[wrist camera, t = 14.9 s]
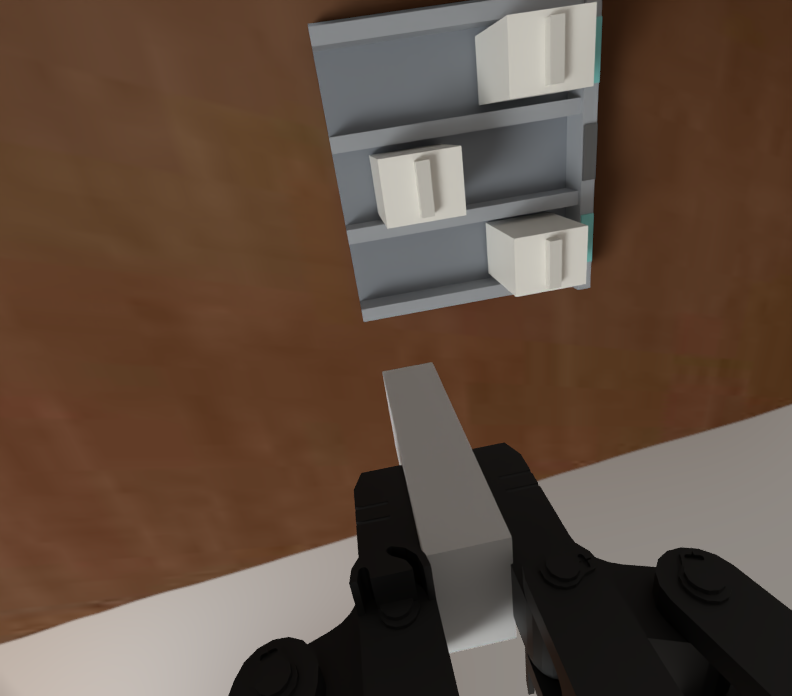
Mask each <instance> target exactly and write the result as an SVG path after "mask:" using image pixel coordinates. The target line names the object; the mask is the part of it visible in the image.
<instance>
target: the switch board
mask: <svg viewBox="0 0 792 696" xmlns="http://www.w3.org/2000/svg"><path fill="white" fill-rule="evenodd" d="M592 2H597V12H596V38H595V64H594V86H591V87H586V88H580V89H575V90H569V91H564V92H558V93H553V94H547V95H541V96H535V97H528V98H522V99H516V100H509V101H503V102H497V103H491V104H484V105H479V99H478V82H477V64H476V47H475V36H476V35H478V34H479V33H481V32H482V31H484V30H485V29H487V28H488V27H490V26H491V25H493V24H494V23H496V22H497V21H499V20H500V19H502V18H503V17H505V16H506V15H511V14H517V13H524V12H531V11H538V10H544V9H551V8H558V7H565V6H571V5H578V4H585V3H592ZM308 28H309V34H310V39H311V44H312V50H313V55H314V60H315V66H316V71H317V76H318V81H319V87H320V92H321V97H322V103H323V108H324V113H325V119H326V124H327V129H328V134H329V140H330V145H331V150H332V156H333V161H334V166H335V172H336V177H337V182H338V187H339V193H340V198H341V203H342V209H343V214H344V219H345V225H346V230H347V235H348V241H349V246H350V251H351V256H352V262H353V267H354V272H355V278H356V283H357V288H358V294H359V299H360V304H361V309H362V315H363V320H364V322H366V321H372V320H377V319H382V318H388V317H393V316H399V315H404V314H409V313H415V312H420V311H426V310H431V309H437V308H442V307H447V306H453V305H458V304H464V303H469V302H475V301H480V300H485V299H491V298H496V297H502V296H507V295H512V293H511V292H510V291H508V290H507V289H506V288H505V287H504V286H503V285H502V284H500V283H499V282H498V281H497V280H496V279H495V278H494V277H492V276H491V275H490V274H489V273H488V256H487V239H486V223H487V222H493V221H498V220H504V219H510V218H516V217H521V216H527V215H533V214H538V213H544V212H551V213H554V214H557V215H559V216H562V217H565V218H568V219H571V220H574V221H576V222H579V223H582V224H585V225H588V246H587V272H586V284H583V285H578V286H572V287H574V288H576V289H577V290H580V289H585V288H590V275H591V261H592V246H593V222H594V213H593V204H594V181H595V176H596V153H597V130H598V123H597V110H598V86H599V82H600V60H601V37H602V0H469V1H462V2H456V3H449V4H442V5H435V6H428V7H421V8H414V9H407V10H401V11H394V12H387V13H380V14H373V15H366V16H359V17H352V18H346V19H339V20H332V21H325V22H318V23H311V24H308ZM435 144H447V145H458V146H461V148H462V161H463V175H464V188H465V201H466V215H465V216H459V217H453V218H447V219H441V220H436V221H430V222H424V223H418V224H413V225H407V226H401V227H395V228H389V229H387V227H386V225H385V224H384V222H383V221H382V219H381V217H380V216H379V214H378V209H377V203H376V196H375V190H374V184H373V177H372V171H371V164H370V158H369V155H374V154H380V153H386V152H392V151H398V150H404V149H411V148H417V147H423V146H429V145H435Z"/></svg>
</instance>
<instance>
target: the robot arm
mask: <svg viewBox="0 0 792 696" xmlns="http://www.w3.org/2000/svg"><path fill="white" fill-rule="evenodd" d="M382 373H383V378H384V384H385V389H386V395H387V401H388V406H389V412H390V417H391V423H392V429H393V434H394V440H395V445H396V450H397V455H398V459H399V464H400V465H399V466H394V467H389V468H384V469H379V470H374V471H369V472H364V473H361V475H360V477H359V480H358V482H357V484H356V486H355V489H354V499H355V510H356V511H355V513H356V524H357V526H356V527H357V541H358V555H359V558H358V559H357V561H356V563H355V564H354V566H353V567H352V570H351V575H350V582H349V584H350V588H351V591H352V595H353V599H354V602H355V606H354V608H353V610H352V611H351V613H350V615H348V617H347V618H346V619H345V620H344V621H343V622H342V623H341V624H340V625H338V626H337V627H335V628H334V629H333V630H331V631H330V632H328V633H327V634H325V635H323V636H321V637H319V638H318V639H316V640H314V641H313V642H311V643H309V644H306V643H305V642H304V641H303V640H299V639H295V638H291V637H287V638H281V639H275V640H272V641H270V642H269V643H267V644H265V645H263V646H262V647H260V648H258V649H257V650H256V651H255V652H254V653H253V654H252V655H251V656H250V657H249V658H248V659H247V660H246V661H245V662H244V664H243V665H242V667H241V669H240V671H239V673H238V674H237V676H236V678H235V680H234V682H233V685H232V688H231V690H230V693H229V696H459V693H458V689H457V685H456V680H455V676H454V672H453V668H452V663H451V659H450V655H449V653H453V652H457V651H462V650H466V649H471V648H475V647H479V646H484V645H488V644H493V643H497V642H501V641H505V640H510V639H514V638H516V625H517V627H518V629H519V632H520V635H521V638H522V640H523V643H524V645H525V658H526V681H527V688H528V694H534V688H535V691H536V694H537V696H792V610H790V609H789V608H788V607H786V606H785V605H784V604H783V603H781V602H780V601H779V600H777V599H776V598H775V597H774V596H772V595H771V594H770V593H768V592H767V591H766V590H765V589H763V588H762V587H761V586H760V585H758V584H757V583H756V582H754V581H753V580H752V579H751V578H749V577H748V576H747V575H745V574H744V573H743V572H742V571H740V570H739V569H738V568H736V567H735V566H734V565H732V564H731V563H729V562H727V561H726V560H724V559H722V558H720V557H719V556H717V555H715V554H712V553H709V552H706V551H703V550H700V549H694V548H677V549H674V550H669V551H667V552H666V553H665V554H663V555H662V556H661V557H660V558H659V559H658V562H657V566H656V567H648V566H635V565H622V564H616V563H611V562H607V561H604V560H601V559H598V558H596V557H594V556H593V554H592V553H591V552H590V551H588V550H587V549H585V548H583V547H581V546H580V545H578V544H577V543H575V542H574V541H573V539H572V538H571V537H570V535H569V534H568V532H567V531H566V529H565V527H564V525H563V524H562V522H561V520H560V519H559V517H558V515H557V514H556V512H555V511H554V509H553V507H552V505H551V504H550V502H549V501H548V499H547V497H546V495H545V494H544V492H543V490H542V489H541V487H540V486H538V482H537V480H536V479H535V477H534V475H533V474H532V473H531V472H530V469H529V467H528V465H527V464H526V462H525V460H524V459H523V457H522V455H521V454H520V453H518V452H517V451H516V450H514V449H513V448H511V447H510V446H509V445H507V444H506V443H500V444H495V445H490V446H485V447H480V448H475V449H471V446H470V444H469V442H468V440H467V438H466V435H465V433H464V431H463V429H462V427H461V424H460V422H459V420H458V418H457V416H456V413H455V411H454V409H453V407H452V405H451V402H450V400H449V398H448V396H447V394H446V391H445V389H444V387H443V385H442V383H441V380H440V378H439V376H438V374H437V372H436V369H435V367H434V365H433V363H432V362H431V363H426V364H421V365H415V366H410V367H405V368H400V369H394V370H389V371H384V372H382Z"/></svg>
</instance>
